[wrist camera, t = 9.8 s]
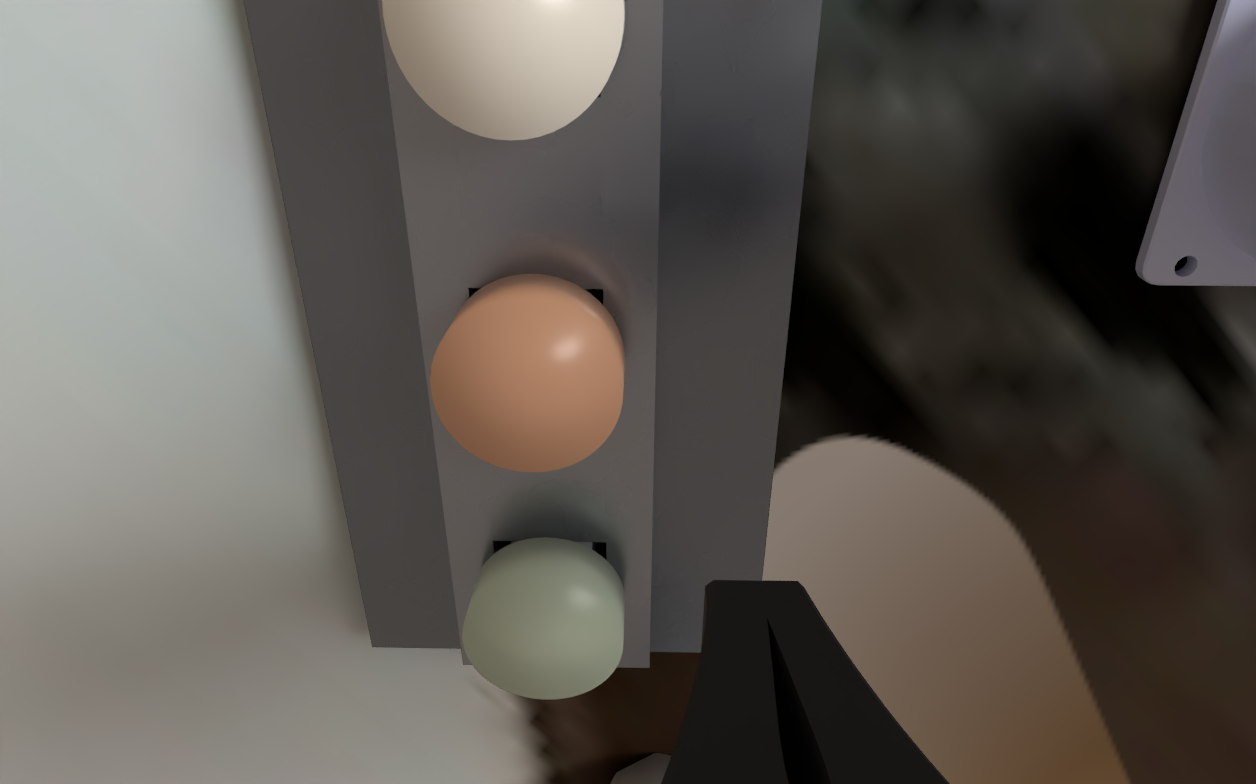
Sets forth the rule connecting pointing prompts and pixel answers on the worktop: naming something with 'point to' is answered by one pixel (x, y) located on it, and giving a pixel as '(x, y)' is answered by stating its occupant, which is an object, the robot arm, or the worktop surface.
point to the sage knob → (546, 619)
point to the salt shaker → (644, 771)
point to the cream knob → (506, 59)
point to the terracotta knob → (530, 374)
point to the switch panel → (699, 298)
